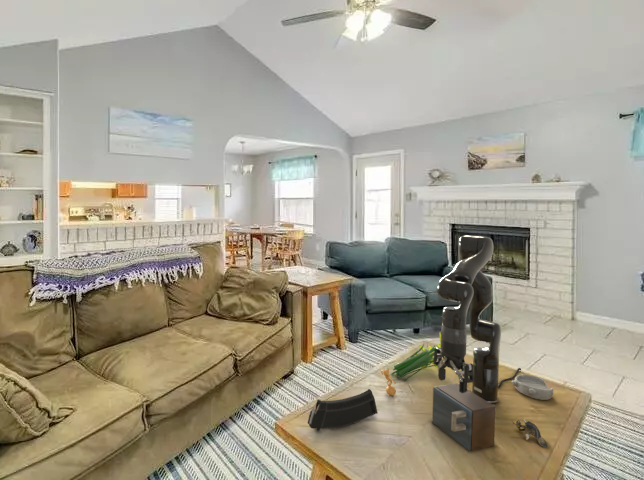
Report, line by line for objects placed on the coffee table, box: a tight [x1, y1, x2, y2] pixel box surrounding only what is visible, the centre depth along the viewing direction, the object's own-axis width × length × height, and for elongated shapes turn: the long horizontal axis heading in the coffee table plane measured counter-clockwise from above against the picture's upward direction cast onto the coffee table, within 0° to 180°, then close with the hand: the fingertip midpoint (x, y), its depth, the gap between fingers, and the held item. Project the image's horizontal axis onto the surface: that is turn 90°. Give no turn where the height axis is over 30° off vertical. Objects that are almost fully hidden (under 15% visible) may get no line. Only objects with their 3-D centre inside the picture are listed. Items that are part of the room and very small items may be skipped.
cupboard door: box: [431, 386, 472, 452], centre depth 134 cm, size 6×16×14 cm, turn 15°
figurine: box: [380, 368, 397, 397], centre depth 161 cm, size 8×6×12 cm
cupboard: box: [435, 382, 497, 451], centre depth 136 cm, size 10×16×14 cm, turn 15°
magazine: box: [307, 388, 379, 432], centre depth 142 cm, size 17×3×30 cm
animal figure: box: [511, 418, 549, 448], centre depth 134 cm, size 8×7×9 cm
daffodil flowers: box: [391, 331, 441, 381], centre depth 182 cm, size 17×15×35 cm
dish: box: [510, 373, 554, 401], centre depth 165 cm, size 14×14×5 cm
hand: (451, 385), depth 127 cm, fingers open, 8 cm apart
